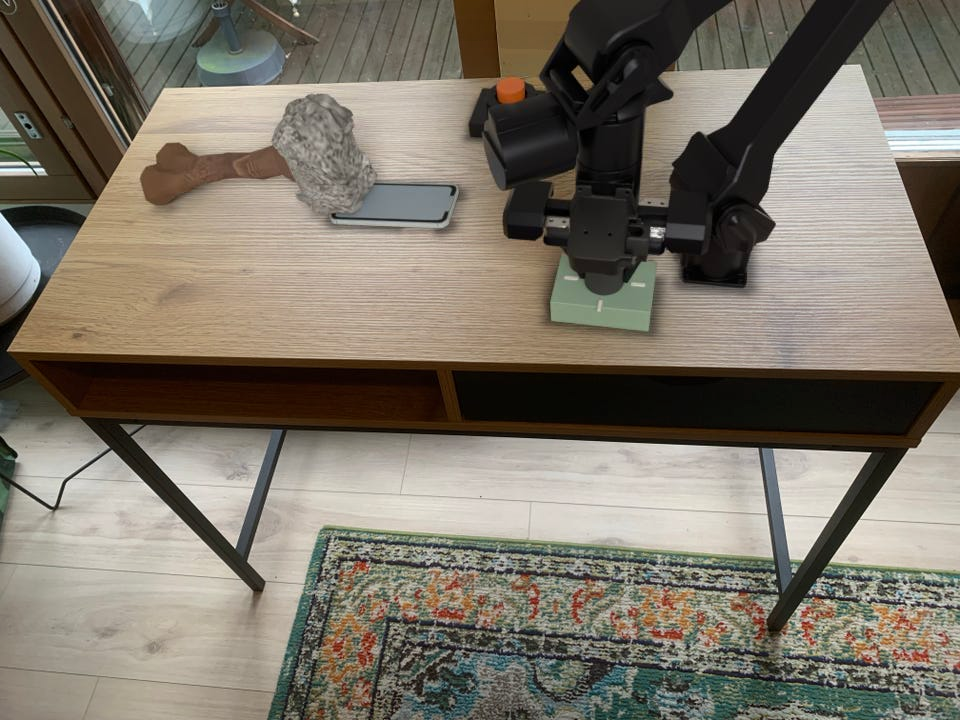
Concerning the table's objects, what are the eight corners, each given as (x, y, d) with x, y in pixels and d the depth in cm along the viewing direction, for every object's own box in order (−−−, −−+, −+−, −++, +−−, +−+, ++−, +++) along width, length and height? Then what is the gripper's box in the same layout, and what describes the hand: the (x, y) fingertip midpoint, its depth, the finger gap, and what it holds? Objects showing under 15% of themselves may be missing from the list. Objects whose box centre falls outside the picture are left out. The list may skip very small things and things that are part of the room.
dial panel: (655, 277, 79) (657, 256, 77) (647, 336, 75) (650, 315, 72) (562, 269, 82) (562, 248, 79) (549, 325, 77) (548, 305, 75)
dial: (626, 269, 77) (628, 238, 73) (621, 297, 74) (623, 267, 71) (587, 265, 77) (587, 235, 74) (581, 293, 75) (581, 263, 72)
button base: (555, 105, 100) (554, 78, 97) (544, 141, 96) (543, 114, 93) (483, 102, 102) (480, 75, 99) (470, 137, 98) (466, 111, 95)
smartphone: (345, 180, 94) (459, 183, 91) (347, 186, 95) (460, 189, 92) (327, 220, 90) (446, 224, 86) (329, 226, 91) (447, 230, 87)
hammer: (202, 176, 104) (395, 161, 93) (178, 237, 100) (377, 229, 89) (127, 99, 91) (341, 71, 81) (96, 165, 87) (316, 145, 77)
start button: (527, 89, 97) (526, 77, 95) (522, 106, 95) (521, 93, 93) (500, 88, 98) (499, 76, 96) (494, 104, 96) (493, 92, 94)
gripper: (481, 206, 61) (497, 328, 73) (718, 224, 56) (693, 350, 69) (509, 123, 67) (520, 248, 79) (724, 134, 63) (700, 264, 75)
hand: (604, 278), depth 75 cm, fingers closed on dial, 4 cm apart
